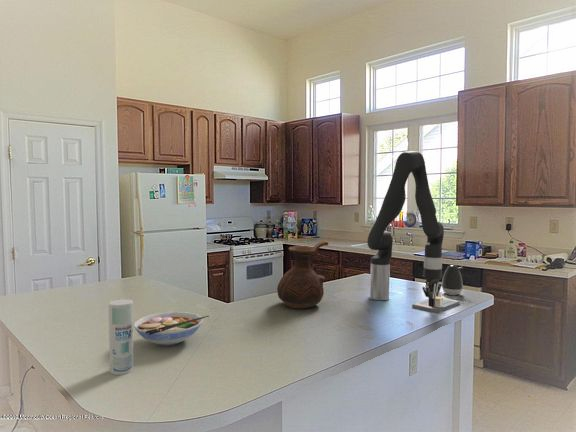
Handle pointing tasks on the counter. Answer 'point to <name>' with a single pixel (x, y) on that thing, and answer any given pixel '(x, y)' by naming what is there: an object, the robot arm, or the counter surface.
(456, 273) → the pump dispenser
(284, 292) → the jug
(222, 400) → the counter surface
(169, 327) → the ramen bowl
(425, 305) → the switch panel
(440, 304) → the block
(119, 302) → the spray can
